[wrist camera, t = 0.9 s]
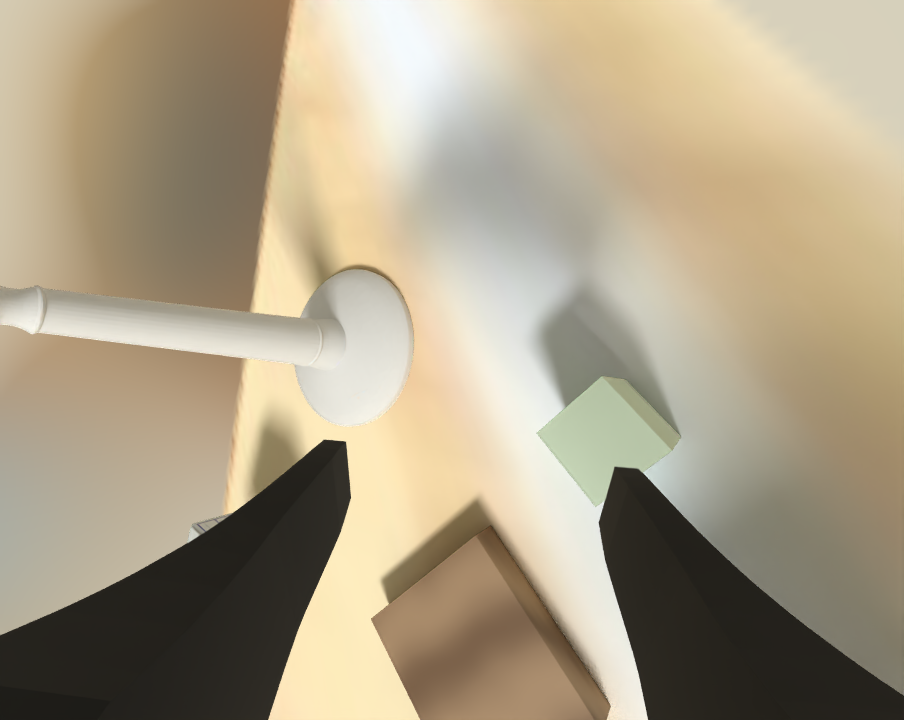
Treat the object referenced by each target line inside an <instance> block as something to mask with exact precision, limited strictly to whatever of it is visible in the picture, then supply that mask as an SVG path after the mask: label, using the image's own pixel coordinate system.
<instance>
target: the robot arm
mask: <svg viewBox="0 0 904 720" xmlns="http://www.w3.org/2000/svg"><path fill="white" fill-rule="evenodd" d="M350 499H351V493H350V481H349V470H348V459H347V448H346V442H344V441H333V440H323V441H322V442H321V443H320V444H318V445H317V446H316V447H315V448H314V449H312V450H311V451H310V452H309V453H308V454H306V455H305V456H304V457H303V458H302V459H301V460H299V461H298V462H297V463H296V464H295V465H293V466H292V467H291V468H290V469H289V470H288V471H286V472H285V473H284V474H283V475H281V476H280V477H279V478H278V479H277V480H275V481H274V482H273V483H272V484H270V485H269V486H268V487H267V488H265V489H264V490H263V491H262V492H260V493H259V494H258V495H257V496H255V497H254V498H252V499H251V500H250V501H248V502H247V503H246V504H244V505H243V506H242V507H240V508H239V509H238V510H236V511H235V512H234V513H232V514H231V515H230V516H228V517H227V518H225V519H224V520H222V521H221V522H219V523H218V524H216V525H215V526H213V527H212V528H210V529H209V530H207V531H206V532H204V533H203V534H201V535H199V536H198V537H196V538H195V539H193V540H192V541H190V542H188V543H187V544H185V545H183V546H182V547H180V548H178V549H177V550H175V551H173V552H171V553H170V554H168V555H166V556H165V557H162V558H161V559H159V560H157V561H155V562H154V563H152V564H150V565H148V566H147V567H145V568H143V569H141V570H139V571H138V572H136V573H134V574H132V575H130V576H128V577H126V578H124V579H122V580H120V581H119V582H116V583H115V584H113V585H111V586H109V587H107V588H105V589H103V590H101V591H99V592H96V593H94V594H92V595H90V596H88V597H86V598H84V599H82V600H80V601H78V602H76V603H74V604H71V605H69V606H67V607H65V608H63V609H60V610H58V611H56V612H54V613H51V614H49V615H47V616H44V617H42V618H40V619H38V620H35V621H33V622H30V623H28V624H26V625H23V626H21V627H19V628H17V629H14V630H12V631H9V632H7V633H5V634H2V635H0V720H268V718H269V715H270V712H271V709H272V706H273V703H274V700H275V697H276V694H277V690H278V687H279V684H280V681H281V678H282V675H283V672H284V669H285V666H286V663H287V660H288V657H289V654H290V652H291V649H292V646H293V643H294V640H295V637H296V634H297V631H298V629H299V626H300V624H301V621H302V619H303V616H304V614H305V612H306V609H307V607H308V605H309V603H310V600H311V598H312V596H313V594H314V591H315V589H316V587H317V585H318V582H319V580H320V578H321V576H322V573H323V571H324V569H325V567H326V564H327V562H328V560H329V558H330V555H331V553H332V551H333V548H334V546H335V544H336V542H337V539H338V537H339V535H340V532H341V529H342V526H343V523H344V519H345V516H346V513H347V509H348V506H349V503H350ZM599 526H600V533H601V539H602V545H603V550H604V556H605V561H606V564H607V568H608V571H609V575H610V578H611V582H612V585H613V588H614V592H615V595H616V598H617V602H618V605H619V608H620V611H621V615H622V618H623V621H624V625H625V628H626V631H627V634H628V638H629V641H630V644H631V648H632V651H633V654H634V658H635V662H636V666H637V670H638V673H639V678H640V683H641V687H642V692H643V697H644V702H645V707H646V711H647V716H648V720H904V696H903V695H902V694H900V693H899V692H897V691H896V690H894V689H893V688H891V687H890V686H888V685H887V684H885V683H884V682H882V681H881V680H879V679H878V678H877V677H875V676H874V675H872V674H871V673H869V672H868V671H867V670H865V669H864V668H862V667H861V666H860V665H858V664H857V663H855V662H854V661H852V660H851V659H850V658H848V657H847V656H845V655H844V654H843V653H841V652H840V651H839V650H837V649H836V648H835V647H833V646H832V645H831V644H829V643H828V642H827V641H825V640H824V639H823V638H821V637H820V636H819V635H817V634H816V633H815V632H813V631H812V630H811V629H809V628H808V627H807V626H805V625H804V624H803V623H802V622H800V621H799V620H798V619H796V618H795V617H794V616H793V615H791V614H790V613H789V612H788V611H786V610H785V609H784V608H783V607H782V606H780V605H779V604H778V603H777V602H776V601H774V600H773V599H772V598H771V597H770V596H768V595H767V594H766V593H765V592H764V591H762V590H761V589H760V588H759V587H757V586H756V585H755V584H754V583H753V582H752V581H751V580H749V579H748V578H747V577H746V576H745V575H744V574H743V573H742V572H740V571H739V570H738V569H737V568H736V567H735V566H734V565H733V564H732V563H731V562H730V561H729V560H728V559H726V558H725V557H724V556H723V555H722V554H721V553H720V552H719V551H718V550H717V549H716V548H715V547H714V546H713V545H712V544H711V543H710V542H709V541H708V540H707V539H705V538H704V537H703V536H702V535H701V534H700V533H699V532H698V531H697V530H696V529H695V528H694V526H693V525H692V524H691V523H690V522H689V521H688V520H687V519H686V518H685V517H684V516H683V515H682V514H681V513H680V512H679V511H678V510H677V509H676V508H675V507H674V506H673V505H672V504H671V503H670V501H669V500H668V499H667V498H666V497H665V496H664V495H663V494H662V493H661V492H660V491H659V490H658V489H657V488H656V486H655V485H654V484H653V483H652V482H651V481H650V480H649V479H648V478H647V477H646V476H645V475H644V474H643V473H642V472H641V471H640V470H639V469H637V468H626V467H616V466H615V467H614V471H613V474H612V478H611V481H610V485H609V488H608V492H607V495H606V499H605V503H604V506H603V510H602V513H601V517H600V520H599Z"/></svg>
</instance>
